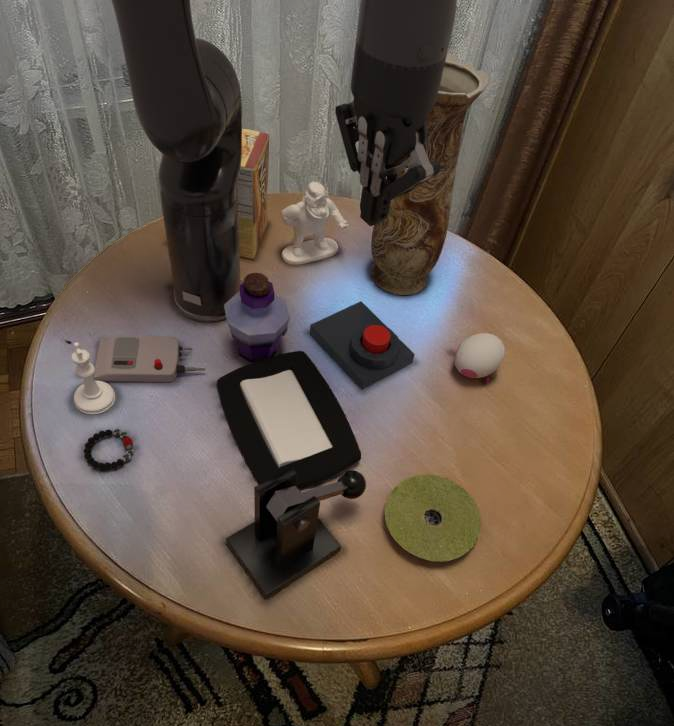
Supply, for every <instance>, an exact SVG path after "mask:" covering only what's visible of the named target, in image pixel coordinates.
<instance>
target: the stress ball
mask: <svg viewBox="0 0 674 726" xmlns="http://www.w3.org/2000/svg"><path fill="white" fill-rule="evenodd" d="M452 353H454V365H455V367H456V369H457V371H458V372H459V373H460V374H461V375H463V376H464V377H467V378H471V379H479V378H480V379H481V378H484V377H485V383H488V382H490V380H491V378H489V377H488V376H489V375H491V374H492V373H494V372H495V371H497V370H498V368H500V366H501V365H502V364H503V362H504V358H505V354H506V348H505V344H504V342H503V341H502V339H500V337H498V336H496V335H495V334H493V333H491V331H489V332H481V333H476V334H473V335H470V336H469V337H467V338H466V339H464V341H462V342H461V343H460V344H459V346H458V347H457V349H456V351H455V352H454V351H452Z"/></svg>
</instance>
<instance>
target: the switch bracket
mask: <svg viewBox="0 0 674 726" xmlns="http://www.w3.org/2000/svg"><path fill="white" fill-rule="evenodd" d="M296 477H297V473H296V472H295V470H294V469H293V468H292V467H289V468H288V469H286V470H284V471H282V472H281V473H279V474H277V475H275V476H274V477H272V478H270V479H268V480H266V481H265V482H263V483H261V484H258V485H256V486H254V487H253V494H254V498H253V500H254V504H253V505H254V521H253V522H251V523H250V524H248V525H247V526H245V527H243V528H241V529H240V530H238V531H236V532H234V533H233V534H231V535H229V536H228V537H226V538H225V542H226V543H225V544H226V545H227V546H228V547H229V549H230V551H231V552H232V553H233V555H234V556H235V558H236V559H237V560H238V562H239V563H240V565H241V566H242V567H243V569H244V570H245V572H246V573H247V575H248V576H249V577H250V579H251V581H253V583H254V585H255V586H256V588H257V589H258V590H259V592H260V593H261V594H262V596H263V597H264V599H265V600H267V599H269V598H270V597H272V596H274V595H275V594H277V593H278V592H280V591H281V590H282V589H284V588H286V587H287V586H289V585H290V584H292V583H294V582H295V581H296V580H298V579H300V578H301V577H302V576H304V575H306V574H307V573H309V572H310V571H312V570H313V569H315V568H316V567H318V566H320V565H321V564H323V563H324V562H326V561H327V560H328V559H330V558H332V557H334V555H336V554H338V553H339V552H340V551H341V549H342V545H340V543H339V542H338V541H337V539H336V538H335V537H334V535H333V534H332V533H331V531H329V529H328V528H327V527H326V526H325V524H324V523H323V521H321V519H320V518H319V513H320V507H321V501H319V500H318V499H317V498H316V497H315V496H313V497H312V498H310V499H308V500H307V501H305V502H303V503H302V504H300V505H298V506H297V507H295V508H293V509H291V510H290V511H288V512H286V513H285V514H283V515H281V516H280V517H278V519H277V521H276V519H275V518H274V517H273V516H272V514H271V513H270V512H269V510H268V509H267V508H266V506H267V504H268V502H269V501H270V499H271V497H272V496H273V494H274V492H275V491H277V490H281V489H284V488H288V487H292V486H296Z"/></svg>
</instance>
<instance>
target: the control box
mask: <svg viewBox="0 0 674 726" xmlns="http://www.w3.org/2000/svg"><path fill="white" fill-rule="evenodd" d="M371 325H380V326H383V327H385V328H386V329H387V330H388V331H389V333H390V336H391V337H390V342H389V346H388V349H387V350H386V351H385V352H383V353H380V354H373V353H370V352H368V351H366V350H365V349H364V347H363V346H362V339H363V333H364V330H365V329H366V328H367V327H369V326H371ZM309 334H310V335H311V337H312V338H313V339H314V340H315V341H316V342H317V343H318V344H319V345H320V346H321V347H322V349H324V351H325V352H326V353H327V354H328V355H329V356H330V357H331V358H332V359H333V360H334V361H335V363H336V364H338V366H339V367H340V368H341V369H342V370H343V371H344V372H345V374H346V375H348V376H349V378H351V380H352V381H353V382H354V383H355V384H356V385H357V386H358V387H359V389H361V390H364V389H366V388H368V387H370V386H372V385H373V384H375V383H377V382H379V381H381V380H382V379H384V378H386V377H388V376H390V375H392V374H394V373H396V372H397V371H399V370H401V369H403V368H405V367H407V366H408V365H411V364H412V363H413V362H414V359H415V353H414V352H413V351H412V350H411V348H410V347H408V346H407V345H406V344H405V343H404V342H403V341H402V340H401V338H399V337H398V335H397V334H396V333H395V332H394V331H393V330H392V329H391V328H389V327H388V326H387V325H386V324H385V323H384V322H383V321H382V320H381V319H380V318H379V317H378V316H377V315H376V314H375V313H374V312H372V310H371V309H370V308H369V307H368V306H367V305H366V304H365V303H364V302H363V301H360V300H359V301H358V302H356V303H353V304H352V305H350V306H347V307H346V308H343V309H341V310H339V311H337V312H335V313H333V314H331V315H328V316H326V317H324V318H322V319H320V320H317V321H315V322H313V323H311V324H310V326H309Z"/></svg>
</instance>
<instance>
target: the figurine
mask: <svg viewBox="0 0 674 726" xmlns="http://www.w3.org/2000/svg"><path fill="white" fill-rule="evenodd" d="M304 194H305V195H303V196H302V197H301V198H302V199H301V201H299V202H296V204H293V203H292V204H290V205H288V206H287V207H285V208H283V209H282V210H281V212H280V216H281V220H282V222H283V223H284V225H286V226H289V227H291V228H292V232H293V241H292V244H291V245H288V246H286V247H285V248H284V249H283V250H282V252H281V258H282V260H283V262H285V263H286V264H288V265H292V266H293V265H294V266H298V265H299V266H300V265H304V264H309V263H312V262H317V261H320V260H324V259H327V258H331V257H333V256H334V255H336V254H337V253H338V250H339V245H338V243H337V242H336V241H335V240H334V239H333V238H329V237H325V236H326V235H325V228H326V225H327V223H328V218H329V217H330V218H331V219H332V221H333V222H334V223H335V224H336V225H338V227H339V228H340V229H341V230H345V229H347V228H348V227H349V224H348V221H347V220H346V219H344V217H343V215H342V214H341V211H340V210H339V209H338V207H337V205H336V204H335V202H334V201H333V200H332V199H330V198H329V197H330V195H329V194H328V191H327V190H325V187H324V185H322V183H320V182H318V181H311V182H309V184H308V186H307V190H306V191H305V193H304ZM307 236H313V239H310V240H305V241H304V239H305V237H307Z"/></svg>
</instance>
